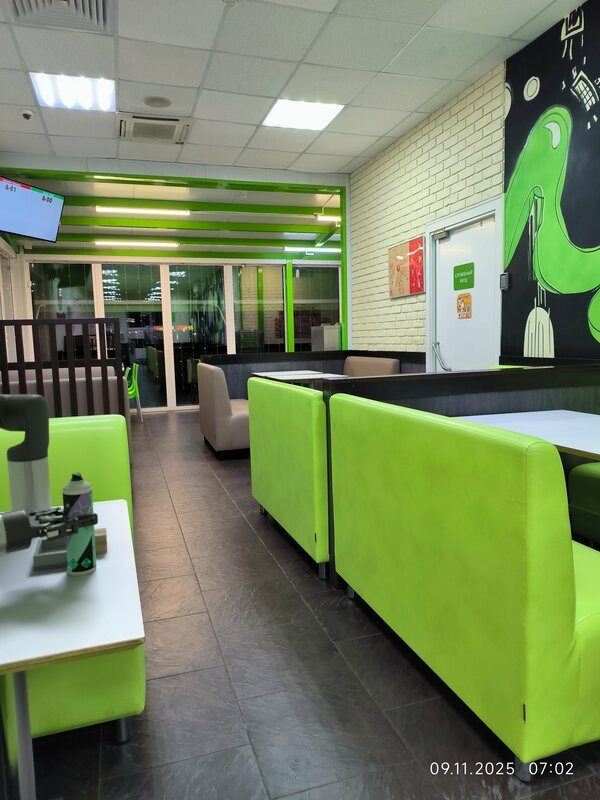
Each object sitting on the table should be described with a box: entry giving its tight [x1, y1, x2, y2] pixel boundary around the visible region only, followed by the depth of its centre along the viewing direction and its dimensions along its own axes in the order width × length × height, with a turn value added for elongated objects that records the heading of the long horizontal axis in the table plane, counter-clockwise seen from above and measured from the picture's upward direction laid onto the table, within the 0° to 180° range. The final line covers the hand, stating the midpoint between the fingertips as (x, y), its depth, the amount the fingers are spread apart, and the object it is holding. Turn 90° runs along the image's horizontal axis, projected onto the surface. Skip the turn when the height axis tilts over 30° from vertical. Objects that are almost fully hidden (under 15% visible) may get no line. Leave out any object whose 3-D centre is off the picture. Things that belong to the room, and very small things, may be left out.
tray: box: [32, 537, 67, 572], centre depth 119 cm, size 10×10×3 cm
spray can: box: [62, 472, 97, 577], centre depth 111 cm, size 6×6×20 cm
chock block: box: [94, 527, 108, 554], centre depth 124 cm, size 5×3×4 cm, turn 19°
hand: (91, 514), depth 113 cm, fingers closed on spray can, 5 cm apart
